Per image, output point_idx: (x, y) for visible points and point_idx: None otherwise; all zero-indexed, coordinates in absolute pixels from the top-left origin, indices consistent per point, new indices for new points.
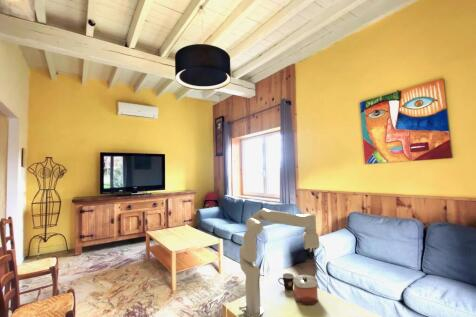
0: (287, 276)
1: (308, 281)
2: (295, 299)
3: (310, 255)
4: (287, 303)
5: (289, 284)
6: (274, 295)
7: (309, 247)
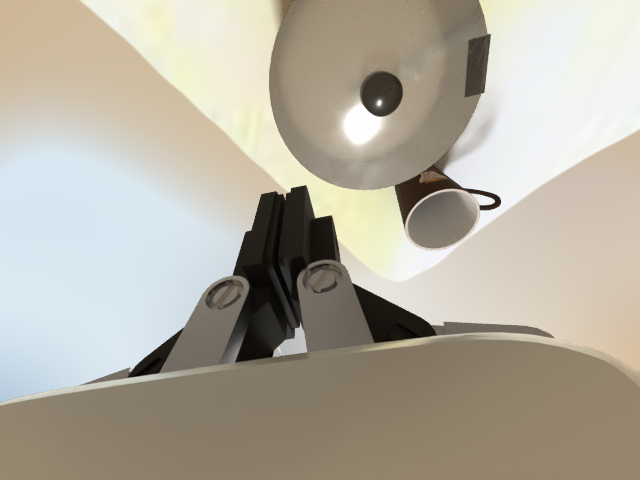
0: (430, 235)
1: (355, 62)
2: None
3: (330, 217)
4: (492, 8)
5: (434, 174)
6: (526, 113)
7: (451, 364)
